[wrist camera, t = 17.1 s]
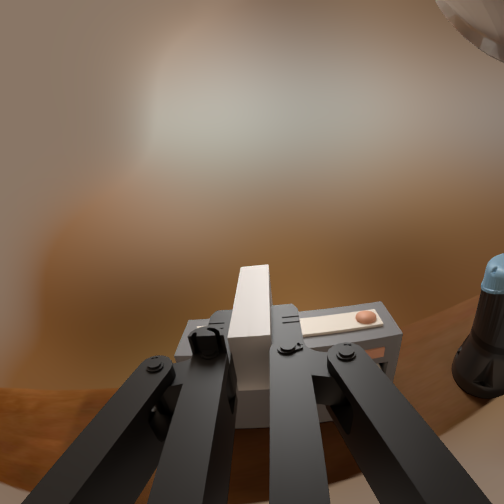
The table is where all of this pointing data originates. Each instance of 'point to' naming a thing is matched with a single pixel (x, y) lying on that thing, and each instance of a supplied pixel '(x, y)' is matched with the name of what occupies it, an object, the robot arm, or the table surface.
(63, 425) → the table surface
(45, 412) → the table surface
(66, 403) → the table surface
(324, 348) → the button panel
